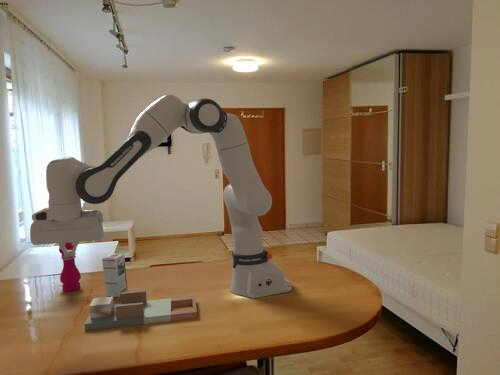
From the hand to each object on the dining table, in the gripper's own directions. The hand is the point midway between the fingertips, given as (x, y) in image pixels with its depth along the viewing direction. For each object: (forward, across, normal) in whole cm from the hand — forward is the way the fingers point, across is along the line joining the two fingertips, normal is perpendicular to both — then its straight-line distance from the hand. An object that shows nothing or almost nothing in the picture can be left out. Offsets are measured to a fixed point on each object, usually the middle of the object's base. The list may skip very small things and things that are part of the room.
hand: (70, 256), depth 121 cm
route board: (+21, -21, 0) cm, 30 cm away
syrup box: (+21, -9, -21) cm, 31 cm away
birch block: (+19, -8, 0) cm, 21 cm away
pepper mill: (+21, +9, -31) cm, 39 cm away
